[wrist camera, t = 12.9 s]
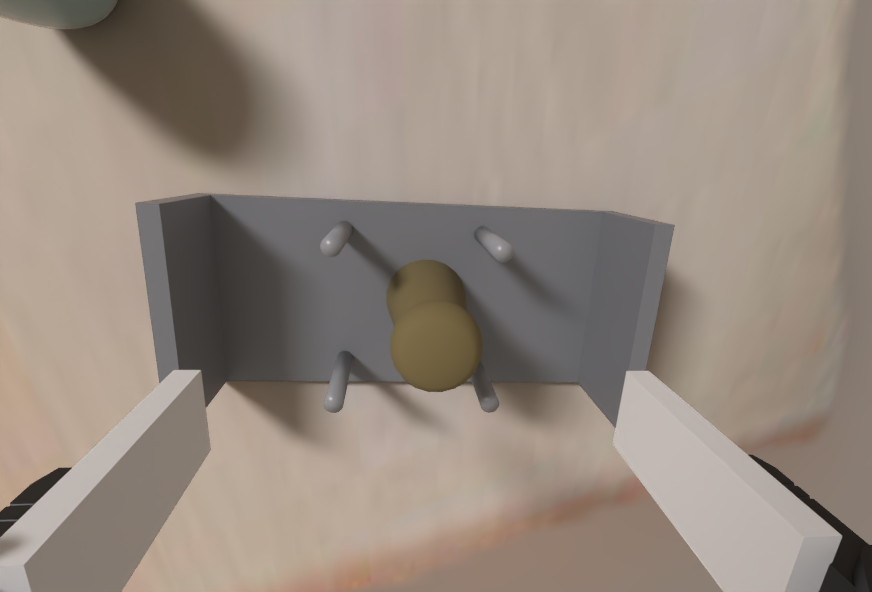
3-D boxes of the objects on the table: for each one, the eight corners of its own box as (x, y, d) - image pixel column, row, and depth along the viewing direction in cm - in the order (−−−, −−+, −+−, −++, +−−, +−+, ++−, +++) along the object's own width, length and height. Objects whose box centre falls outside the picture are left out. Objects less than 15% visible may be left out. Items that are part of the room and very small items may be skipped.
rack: (215, 374, 35) (166, 433, 28) (198, 193, 32) (135, 202, 24) (586, 377, 38) (634, 430, 31) (612, 211, 34) (674, 225, 27)
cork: (406, 347, 35) (410, 426, 25) (372, 279, 33) (361, 333, 23) (477, 316, 35) (512, 382, 24) (446, 246, 33) (470, 284, 23)
